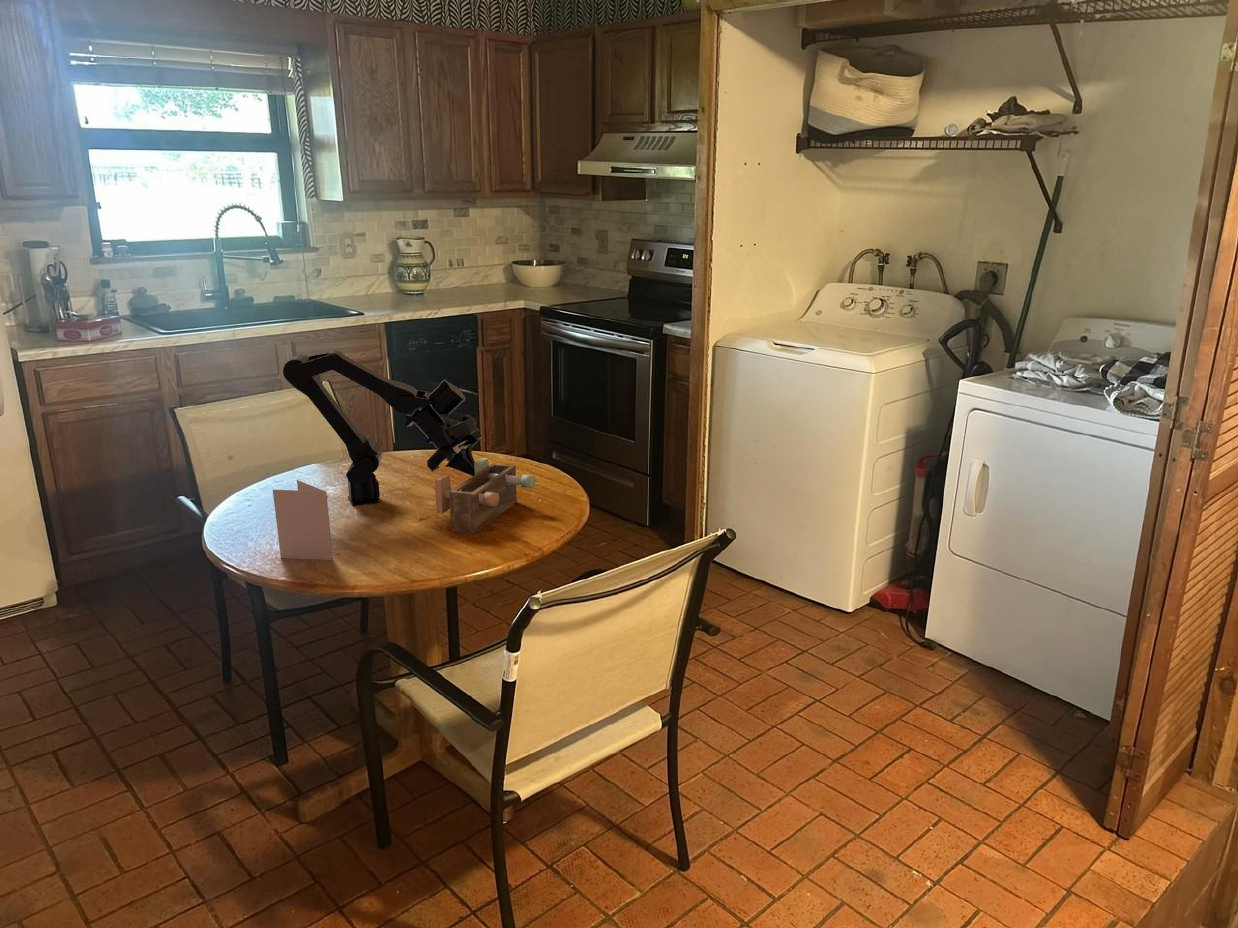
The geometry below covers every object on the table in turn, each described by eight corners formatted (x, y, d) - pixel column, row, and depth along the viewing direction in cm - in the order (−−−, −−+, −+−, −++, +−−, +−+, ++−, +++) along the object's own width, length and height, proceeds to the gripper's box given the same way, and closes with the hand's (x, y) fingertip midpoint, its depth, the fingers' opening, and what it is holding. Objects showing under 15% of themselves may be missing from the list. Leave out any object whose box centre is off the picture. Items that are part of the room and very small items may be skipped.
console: (451, 530, 206) (449, 491, 203) (494, 499, 226) (492, 463, 223) (475, 533, 204) (473, 494, 201) (516, 501, 224) (515, 465, 221)
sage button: (475, 494, 220) (474, 462, 217) (484, 489, 224) (482, 457, 221) (529, 501, 215) (528, 468, 213) (537, 495, 219) (536, 463, 217)
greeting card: (337, 558, 190) (330, 490, 186) (304, 569, 185) (296, 499, 181) (307, 544, 198) (300, 478, 193) (275, 555, 192) (267, 487, 188)
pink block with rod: (436, 512, 208) (434, 479, 205) (446, 506, 212) (444, 473, 209) (492, 519, 203) (491, 485, 201) (501, 513, 207) (499, 479, 205)
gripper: (435, 416, 209) (481, 467, 209) (472, 398, 226) (515, 445, 226) (407, 446, 213) (452, 496, 213) (446, 426, 230) (488, 472, 230)
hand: (478, 476), depth 221 cm, fingers closed, pressing on sage button
